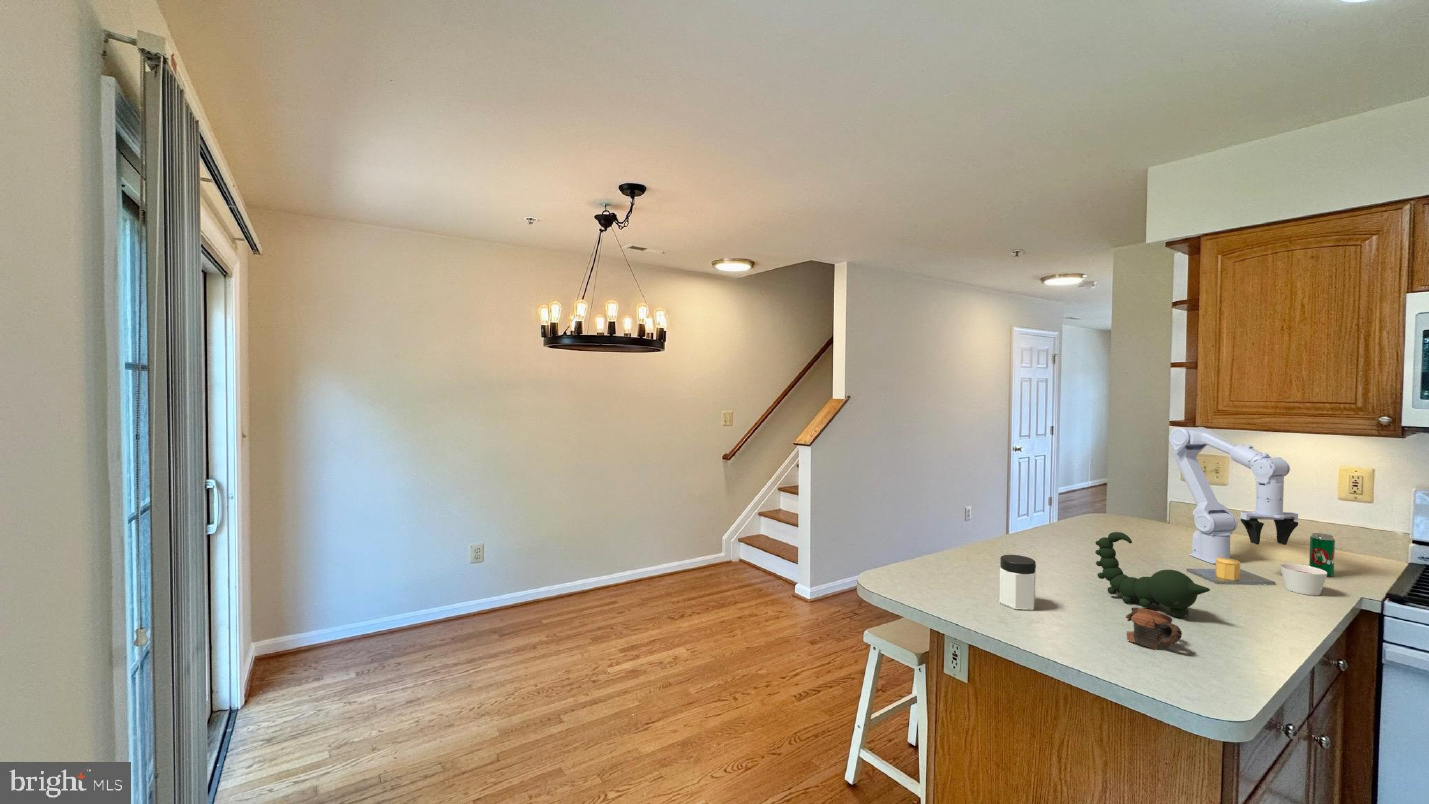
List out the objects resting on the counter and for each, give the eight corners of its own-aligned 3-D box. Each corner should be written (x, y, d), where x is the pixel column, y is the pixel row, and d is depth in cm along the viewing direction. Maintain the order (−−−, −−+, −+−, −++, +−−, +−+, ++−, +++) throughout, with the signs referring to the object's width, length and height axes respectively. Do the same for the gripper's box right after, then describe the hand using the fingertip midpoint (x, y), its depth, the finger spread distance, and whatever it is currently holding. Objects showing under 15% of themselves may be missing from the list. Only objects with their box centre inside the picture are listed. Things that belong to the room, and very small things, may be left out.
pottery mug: (1111, 638, 128) (1117, 602, 130) (1144, 653, 129) (1149, 618, 131) (1163, 648, 116) (1168, 609, 119) (1199, 665, 117) (1203, 626, 120)
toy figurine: (1091, 600, 152) (1201, 628, 130) (1086, 531, 153) (1194, 546, 131) (1113, 595, 156) (1223, 621, 133) (1108, 527, 157) (1216, 541, 134)
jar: (1043, 607, 144) (1044, 561, 143) (1023, 613, 140) (1023, 566, 140) (1012, 596, 152) (1012, 552, 151) (991, 601, 148) (992, 556, 148)
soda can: (1322, 571, 170) (1323, 532, 170) (1339, 577, 165) (1340, 537, 165) (1304, 571, 170) (1305, 532, 170) (1320, 576, 165) (1321, 536, 165)
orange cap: (1217, 577, 163) (1218, 560, 163) (1214, 572, 167) (1214, 556, 167) (1241, 581, 160) (1241, 563, 160) (1237, 576, 164) (1237, 559, 164)
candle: (1315, 588, 156) (1316, 566, 156) (1334, 599, 148) (1335, 576, 148) (1272, 583, 160) (1273, 561, 160) (1289, 594, 152) (1289, 571, 152)
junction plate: (1186, 571, 171) (1186, 558, 171) (1241, 571, 170) (1241, 559, 170) (1216, 583, 160) (1216, 570, 160) (1275, 584, 159) (1275, 571, 159)
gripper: (1256, 500, 161) (1254, 547, 162) (1309, 501, 161) (1307, 547, 161) (1234, 496, 169) (1233, 540, 169) (1285, 496, 168) (1284, 541, 168)
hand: (1268, 543), depth 165 cm, fingers open, 7 cm apart
